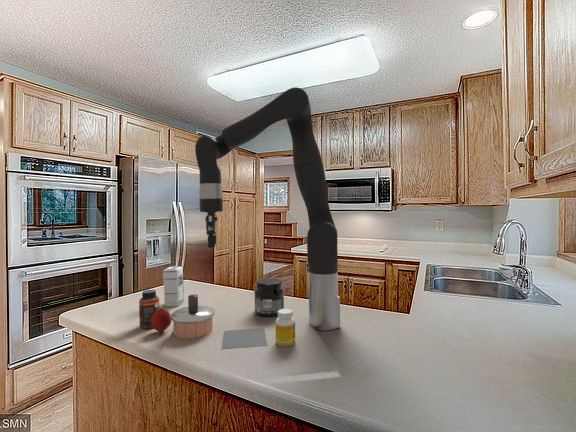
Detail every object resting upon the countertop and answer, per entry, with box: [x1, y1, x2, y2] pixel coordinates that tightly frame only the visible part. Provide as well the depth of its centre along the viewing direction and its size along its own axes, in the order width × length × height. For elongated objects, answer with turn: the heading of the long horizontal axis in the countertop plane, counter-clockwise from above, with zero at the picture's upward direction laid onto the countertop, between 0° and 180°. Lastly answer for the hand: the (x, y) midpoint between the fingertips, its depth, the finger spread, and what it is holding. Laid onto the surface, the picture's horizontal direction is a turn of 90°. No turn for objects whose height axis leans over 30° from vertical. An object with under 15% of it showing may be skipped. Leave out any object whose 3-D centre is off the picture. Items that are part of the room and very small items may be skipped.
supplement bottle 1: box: [138, 289, 160, 330], centre depth 98 cm, size 6×6×11 cm
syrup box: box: [162, 265, 185, 307], centre depth 120 cm, size 6×6×14 cm
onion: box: [151, 305, 172, 333], centre depth 93 cm, size 6×6×8 cm
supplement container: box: [253, 277, 285, 318], centre depth 107 cm, size 10×10×12 cm
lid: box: [170, 293, 216, 323], centre depth 91 cm, size 12×12×6 cm
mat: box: [221, 327, 268, 350], centre depth 86 cm, size 12×12×1 cm
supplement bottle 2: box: [275, 308, 296, 348], centre depth 83 cm, size 5×5×10 cm
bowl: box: [172, 316, 214, 339], centre depth 92 cm, size 11×11×6 cm
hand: (212, 246), depth 102 cm, fingers open, 8 cm apart
